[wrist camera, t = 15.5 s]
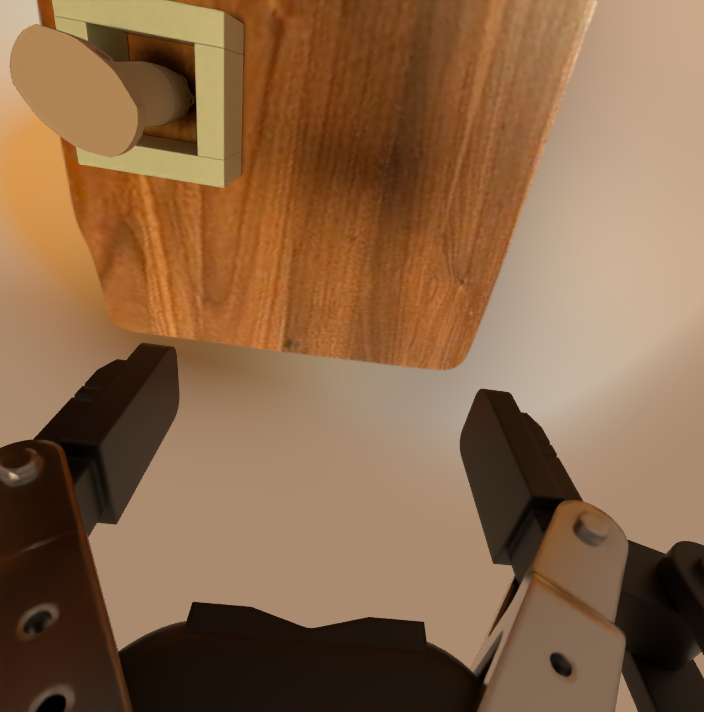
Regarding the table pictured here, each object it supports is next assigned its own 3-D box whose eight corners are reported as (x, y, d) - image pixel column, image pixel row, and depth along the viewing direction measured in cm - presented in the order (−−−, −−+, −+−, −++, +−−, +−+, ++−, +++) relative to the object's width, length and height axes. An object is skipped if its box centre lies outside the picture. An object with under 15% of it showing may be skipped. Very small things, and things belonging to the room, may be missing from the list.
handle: (195, 147, 37) (113, 175, 24) (126, 90, 35) (-3, 88, 22) (225, 98, 35) (153, 102, 23) (154, 35, 33) (30, -1, 20)
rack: (96, -6, 32) (47, -24, 27) (244, 23, 33) (224, 11, 28) (115, 154, 38) (78, 164, 32) (241, 175, 38) (224, 188, 33)
